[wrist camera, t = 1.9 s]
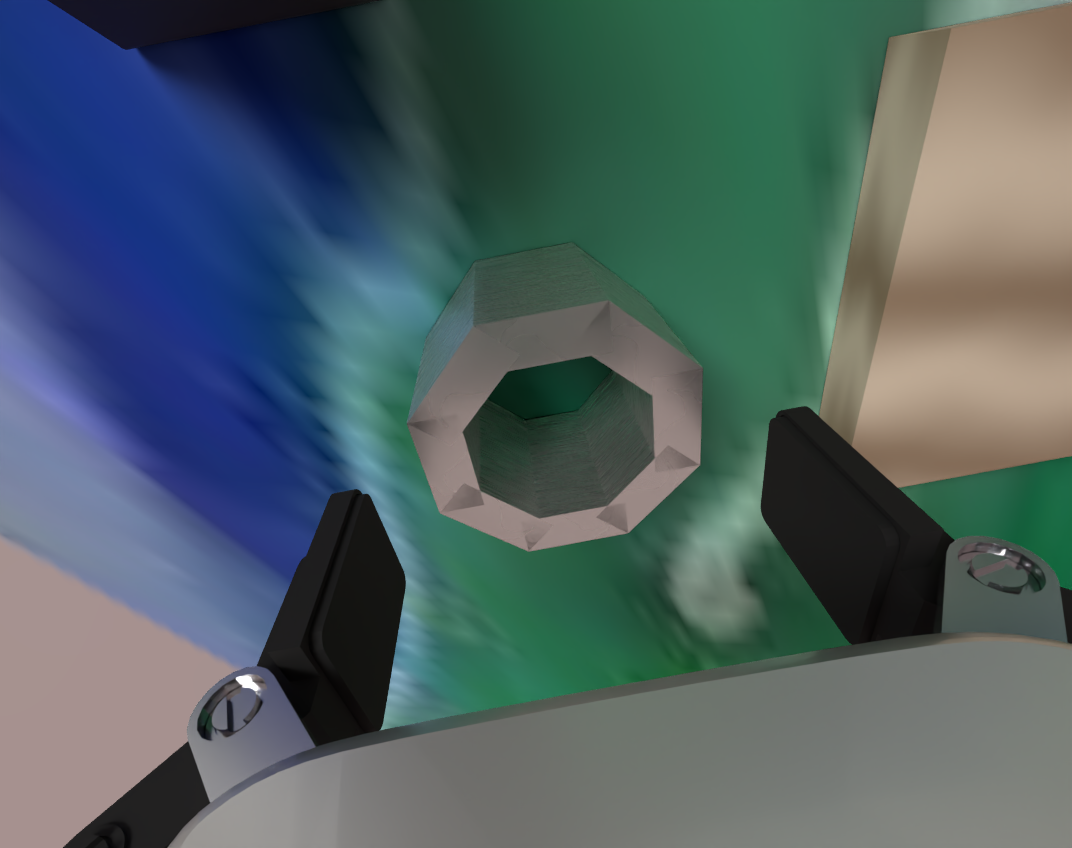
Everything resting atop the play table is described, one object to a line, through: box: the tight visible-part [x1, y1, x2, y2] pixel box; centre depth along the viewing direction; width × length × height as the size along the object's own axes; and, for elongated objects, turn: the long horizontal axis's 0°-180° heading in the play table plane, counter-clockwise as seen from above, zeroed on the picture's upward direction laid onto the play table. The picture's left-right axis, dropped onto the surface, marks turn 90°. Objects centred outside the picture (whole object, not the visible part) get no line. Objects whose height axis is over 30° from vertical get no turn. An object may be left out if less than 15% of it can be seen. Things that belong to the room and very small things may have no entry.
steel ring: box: [407, 242, 703, 551], centre depth 15 cm, size 7×7×5 cm
